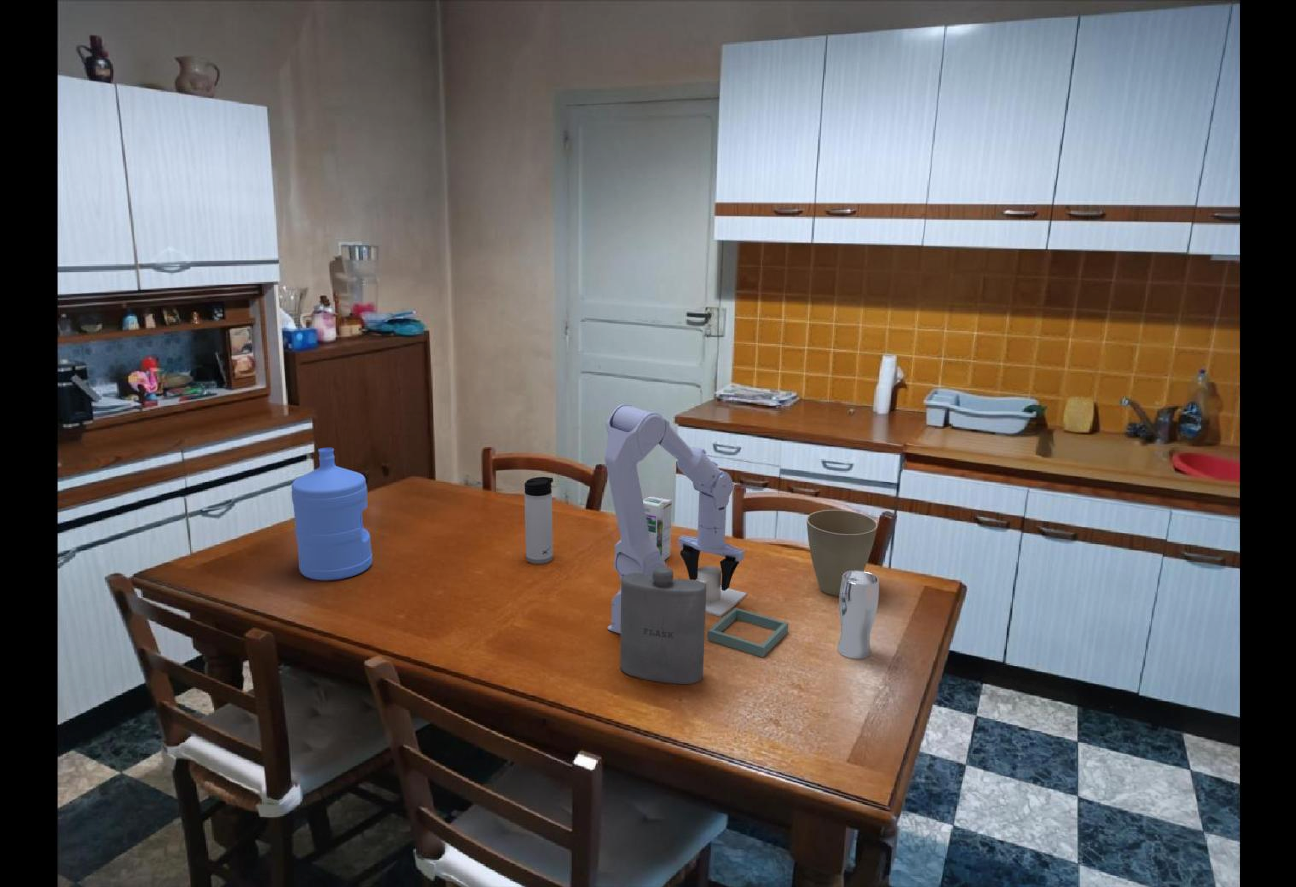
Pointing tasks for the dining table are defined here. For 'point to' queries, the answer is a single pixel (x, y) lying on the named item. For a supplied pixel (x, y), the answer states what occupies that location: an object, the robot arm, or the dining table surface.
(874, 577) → the beer glass
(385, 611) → the dining table surface
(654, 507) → the syrup box
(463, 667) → the dining table surface
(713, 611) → the mat
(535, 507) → the travel mug
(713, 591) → the jug
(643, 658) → the flask
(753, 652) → the holder
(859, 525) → the plant pot
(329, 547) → the water jug
